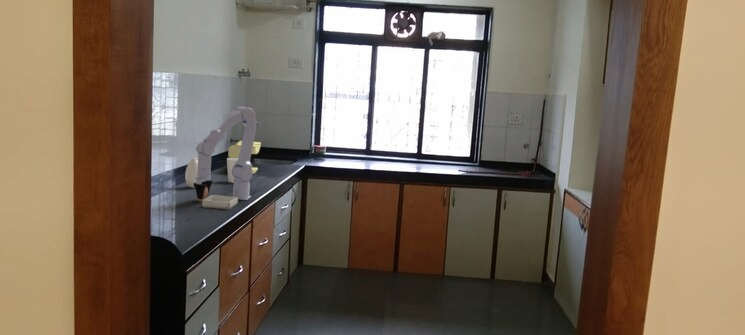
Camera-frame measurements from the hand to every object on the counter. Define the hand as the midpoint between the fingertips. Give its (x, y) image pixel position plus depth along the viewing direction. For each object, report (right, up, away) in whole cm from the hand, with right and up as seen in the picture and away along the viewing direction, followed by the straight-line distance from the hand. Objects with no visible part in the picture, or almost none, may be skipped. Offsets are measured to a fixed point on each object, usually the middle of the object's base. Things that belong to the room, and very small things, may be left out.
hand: (202, 197), depth 262 cm
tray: (+10, -3, -6) cm, 12 cm away
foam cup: (0, +5, +59) cm, 59 cm away
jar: (0, -2, 0) cm, 2 cm away
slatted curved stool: (-5, +11, +105) cm, 105 cm away
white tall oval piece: (-14, +3, +31) cm, 34 cm away
